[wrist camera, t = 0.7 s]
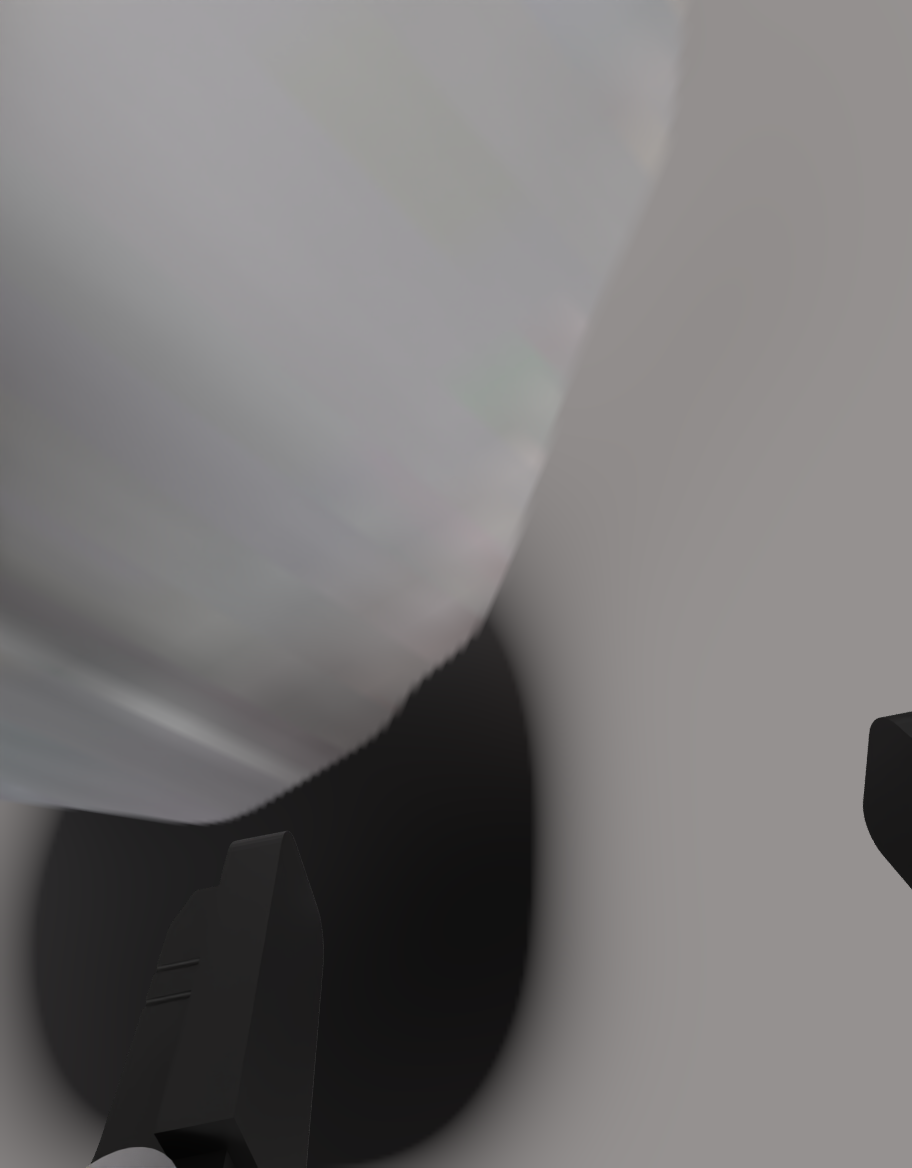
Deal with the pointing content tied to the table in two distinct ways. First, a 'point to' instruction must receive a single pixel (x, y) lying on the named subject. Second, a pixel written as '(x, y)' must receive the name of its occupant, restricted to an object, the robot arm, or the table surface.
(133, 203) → the table surface
